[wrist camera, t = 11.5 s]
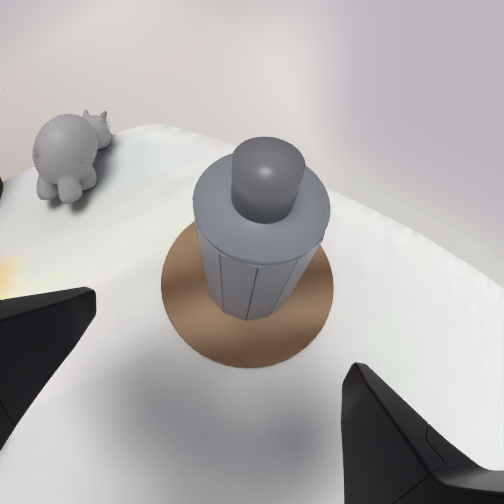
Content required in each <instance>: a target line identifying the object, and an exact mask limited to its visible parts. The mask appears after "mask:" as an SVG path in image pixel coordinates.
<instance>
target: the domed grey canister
mask: <svg viewBox="0 0 504 504" xmlns="http://www.w3.org/2000/svg"><path fill="white" fill-rule="evenodd" d="M193 209H194V216H195V225H196V231H197V237H198V242H199V248H200V253H201V258H202V263H203V268H204V273H205V278H206V283H207V287H208V292H209V296H210V297H211V299H212V300H213V301H214V302H215V303H216V304H217V306H218V307H219V308H220V309H221V310H222V312H223V313H225V314H228V315H231V316H233V317H236V318H239V319H242V320H245V321H249V320H254V319H260V318H266V317H269V316H270V315H272V314H273V313H274V312H275V311H276V310H278V309H279V308H280V307H281V306H282V305H283V304H284V303H285V302H286V301H287V299H288V298H289V296H290V294H291V293H292V291H293V289H294V288H295V286H296V284H297V283H298V281H299V279H300V278H301V276H302V274H303V273H304V271H305V269H306V268H307V266H308V264H309V263H310V261H311V259H312V257H313V256H314V254H315V252H316V250H317V249H318V247H319V245H320V244H321V242H322V240H323V237H324V233H325V230H326V228H327V225H328V222H329V218H330V202H329V197H328V194H327V191H326V189H325V187H324V185H323V184H322V182H321V181H320V179H319V178H318V177H317V175H316V174H315V173H314V172H313V171H311V169H309V168H308V167H307V166H306V165H305V160H304V158H303V156H302V154H301V153H300V151H298V149H297V148H295V147H294V146H293V145H291V144H290V143H288V142H286V141H284V140H281V139H278V138H273V137H257V138H252V139H249V140H246V141H244V142H243V143H241V144H240V145H239V146H238V147H237V148H236V149H235V151H234V153H232V154H229V155H227V156H225V157H222V158H220V159H219V160H217V161H216V162H214V163H213V164H212V165H210V166H209V167H208V168H207V169H206V170H205V171H204V172H203V174H202V175H201V176H200V178H199V180H198V182H197V184H196V186H195V190H194V194H193Z"/></svg>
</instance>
